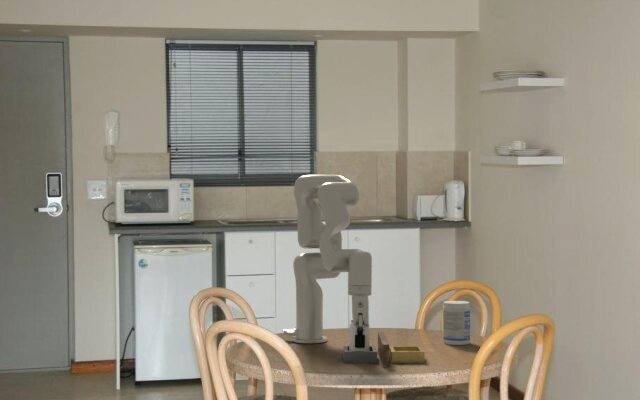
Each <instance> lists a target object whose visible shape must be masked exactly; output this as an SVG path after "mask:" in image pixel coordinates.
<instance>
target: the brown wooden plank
mask: <svg viewBox="0 0 640 400" xmlns="http://www.w3.org/2000/svg"><path fill="white" fill-rule="evenodd" d="M389 346H390V343H389V341H388V338H387V337H386V334H385V332H384V331H377V356H378V357H379V361H380V362H381V366H382V368H390V357H389Z"/></svg>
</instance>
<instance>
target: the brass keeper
mask: <svg viewBox="0 0 640 400" xmlns="http://www.w3.org/2000/svg"><path fill="white" fill-rule="evenodd" d="M389 361H390V362H391V364H393V363H394V364H397V363H398V364H411V363H412V364H414V363H415V364H420V363H421V364H423V363H425V350H424V349H423V347H422V346H421V345H389Z"/></svg>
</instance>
